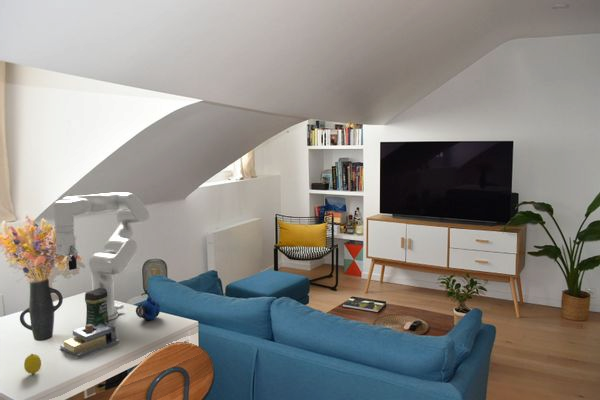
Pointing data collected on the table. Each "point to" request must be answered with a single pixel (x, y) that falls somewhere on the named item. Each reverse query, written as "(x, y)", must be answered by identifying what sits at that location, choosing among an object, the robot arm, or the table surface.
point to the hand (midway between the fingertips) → (67, 267)
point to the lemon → (32, 363)
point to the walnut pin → (88, 328)
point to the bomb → (148, 309)
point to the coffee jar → (96, 306)
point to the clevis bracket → (91, 340)
